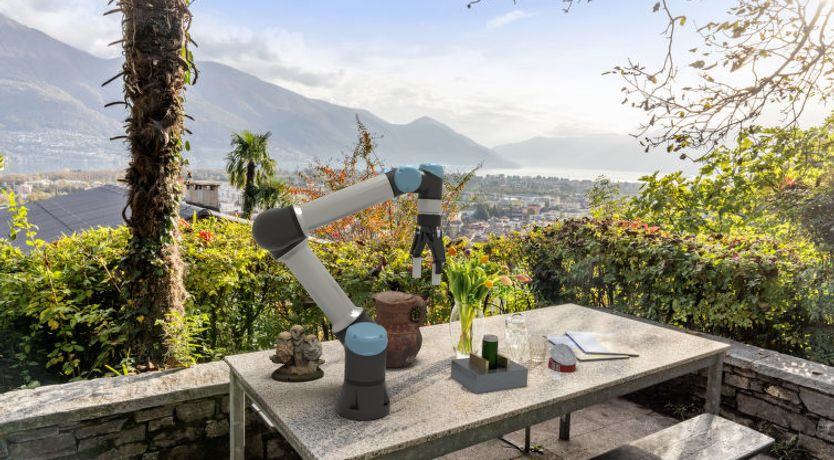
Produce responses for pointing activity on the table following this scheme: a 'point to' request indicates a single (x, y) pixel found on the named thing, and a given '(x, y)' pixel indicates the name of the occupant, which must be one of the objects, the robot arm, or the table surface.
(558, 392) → the table surface
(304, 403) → the table surface
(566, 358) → the canned food
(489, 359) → the beer can
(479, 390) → the grey fixture block
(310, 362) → the owl figurine
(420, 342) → the jug
